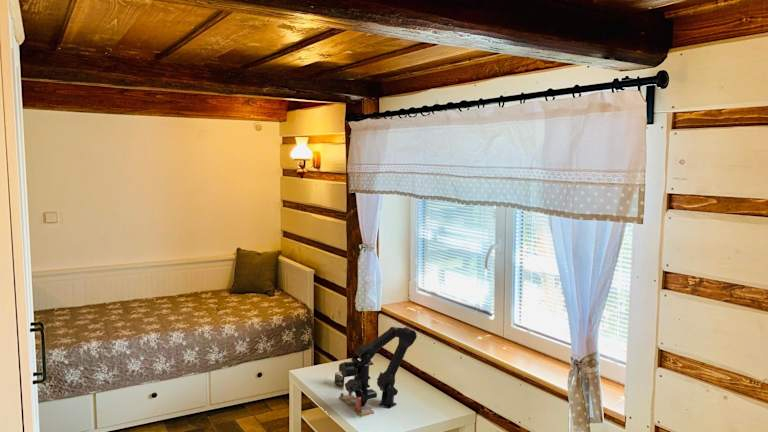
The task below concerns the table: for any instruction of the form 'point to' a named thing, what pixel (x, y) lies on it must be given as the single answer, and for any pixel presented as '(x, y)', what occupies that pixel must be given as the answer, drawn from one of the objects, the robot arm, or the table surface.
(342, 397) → the plank
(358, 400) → the tab
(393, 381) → the robot arm
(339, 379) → the cream yellow box
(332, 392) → the table surface
